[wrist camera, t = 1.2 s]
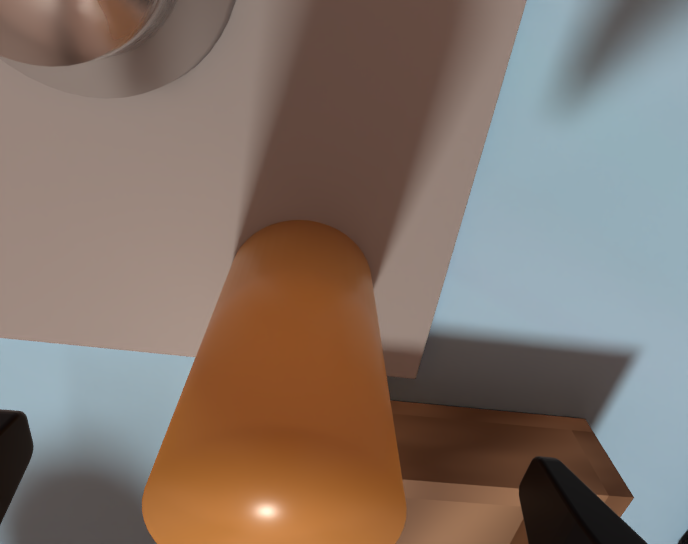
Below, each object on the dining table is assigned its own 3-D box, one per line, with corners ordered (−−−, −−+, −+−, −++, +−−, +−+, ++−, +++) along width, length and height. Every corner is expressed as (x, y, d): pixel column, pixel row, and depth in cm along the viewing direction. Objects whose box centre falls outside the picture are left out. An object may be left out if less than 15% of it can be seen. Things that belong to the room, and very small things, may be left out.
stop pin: (384, 230, 13) (434, 439, 6) (359, 348, 14) (380, 595, 8) (232, 210, 12) (132, 413, 6) (227, 334, 14) (148, 583, 8)
